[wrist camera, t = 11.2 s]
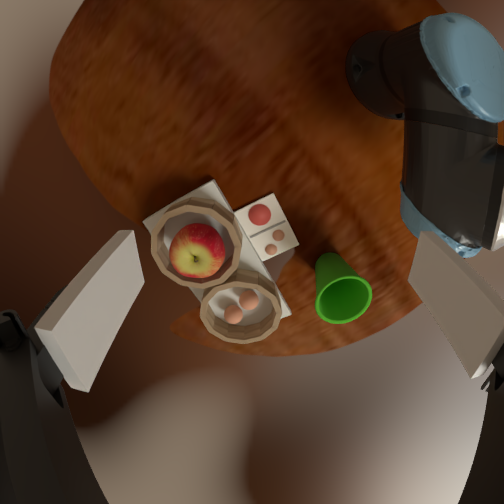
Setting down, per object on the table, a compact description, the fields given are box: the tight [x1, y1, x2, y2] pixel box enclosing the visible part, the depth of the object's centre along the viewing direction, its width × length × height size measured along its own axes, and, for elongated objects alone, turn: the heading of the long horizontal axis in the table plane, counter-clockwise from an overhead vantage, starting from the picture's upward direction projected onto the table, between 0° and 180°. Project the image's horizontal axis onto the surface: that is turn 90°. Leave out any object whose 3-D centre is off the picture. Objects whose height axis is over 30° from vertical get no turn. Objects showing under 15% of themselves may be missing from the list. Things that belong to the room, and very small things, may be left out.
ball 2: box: [239, 290, 259, 310], centre depth 50 cm, size 4×4×4 cm
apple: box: [169, 223, 225, 278], centre depth 42 cm, size 8×8×10 cm
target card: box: [234, 193, 299, 261], centre depth 46 cm, size 10×7×1 cm
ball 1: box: [224, 305, 243, 324], centre depth 51 cm, size 4×4×4 cm
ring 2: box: [200, 268, 282, 344], centre depth 50 cm, size 14×14×4 cm
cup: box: [315, 253, 372, 324], centre depth 45 cm, size 9×9×11 cm
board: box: [143, 179, 292, 326], centre depth 50 cm, size 29×14×1 cm, turn 28°
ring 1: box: [151, 197, 243, 289], centre depth 44 cm, size 14×14×4 cm
